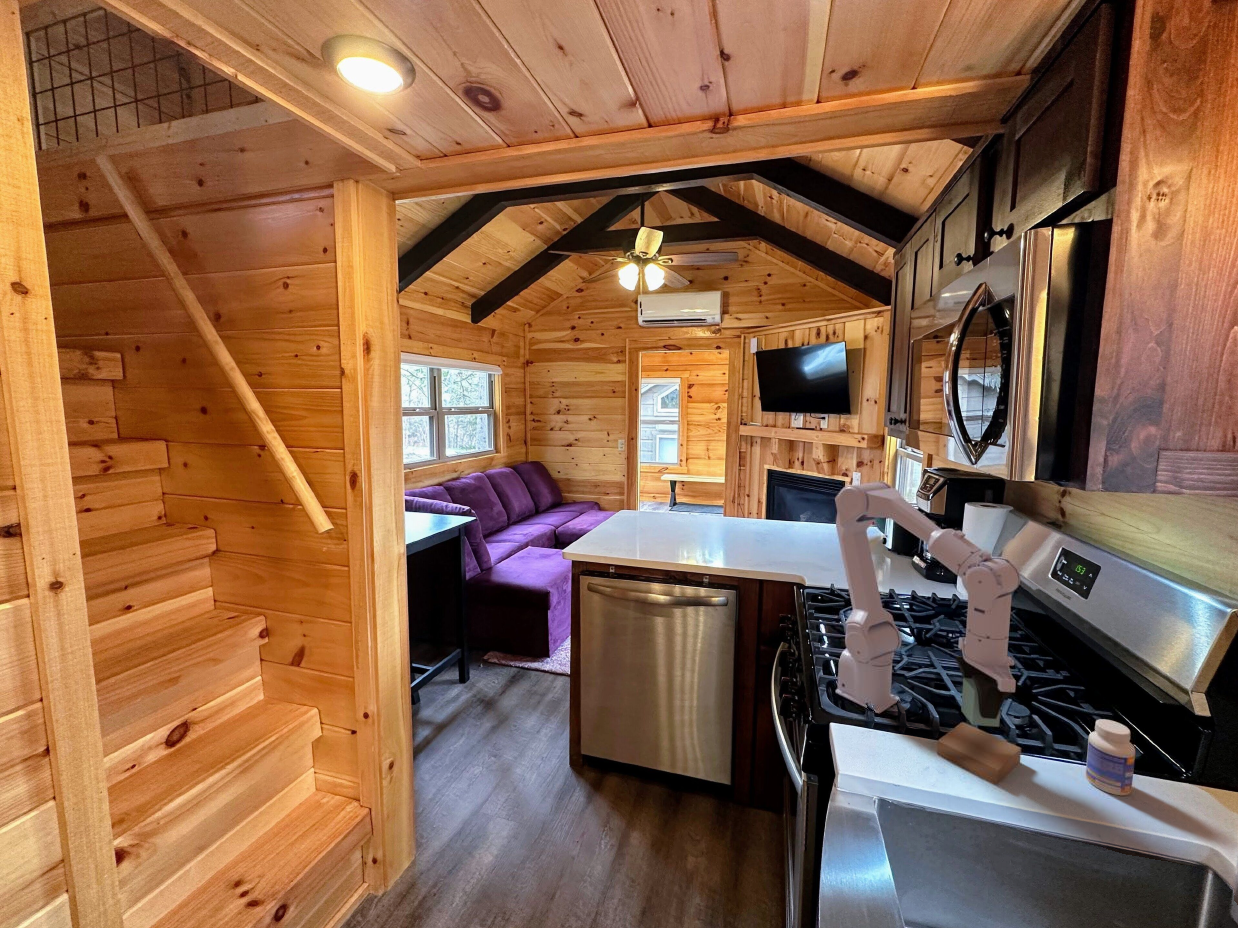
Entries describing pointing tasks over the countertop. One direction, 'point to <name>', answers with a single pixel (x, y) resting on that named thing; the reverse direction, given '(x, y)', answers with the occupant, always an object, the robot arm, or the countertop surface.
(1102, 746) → the pill bottle
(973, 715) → the gray-green block
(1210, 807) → the countertop surface
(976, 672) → the robot arm
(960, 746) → the walnut block
